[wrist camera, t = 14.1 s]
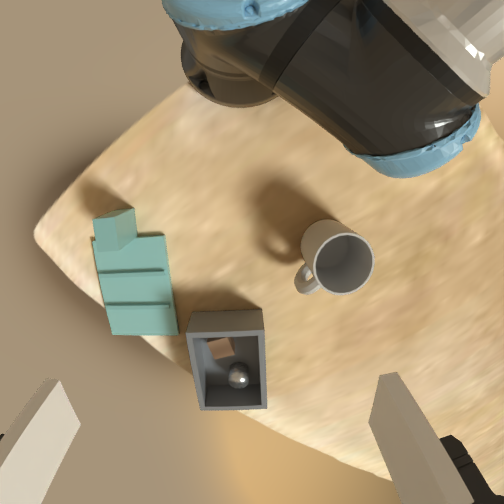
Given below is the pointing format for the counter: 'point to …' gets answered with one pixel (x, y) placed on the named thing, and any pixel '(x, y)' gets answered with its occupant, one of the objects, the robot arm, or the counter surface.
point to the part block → (221, 346)
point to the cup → (333, 259)
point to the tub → (228, 359)
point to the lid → (133, 276)
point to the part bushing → (238, 375)
